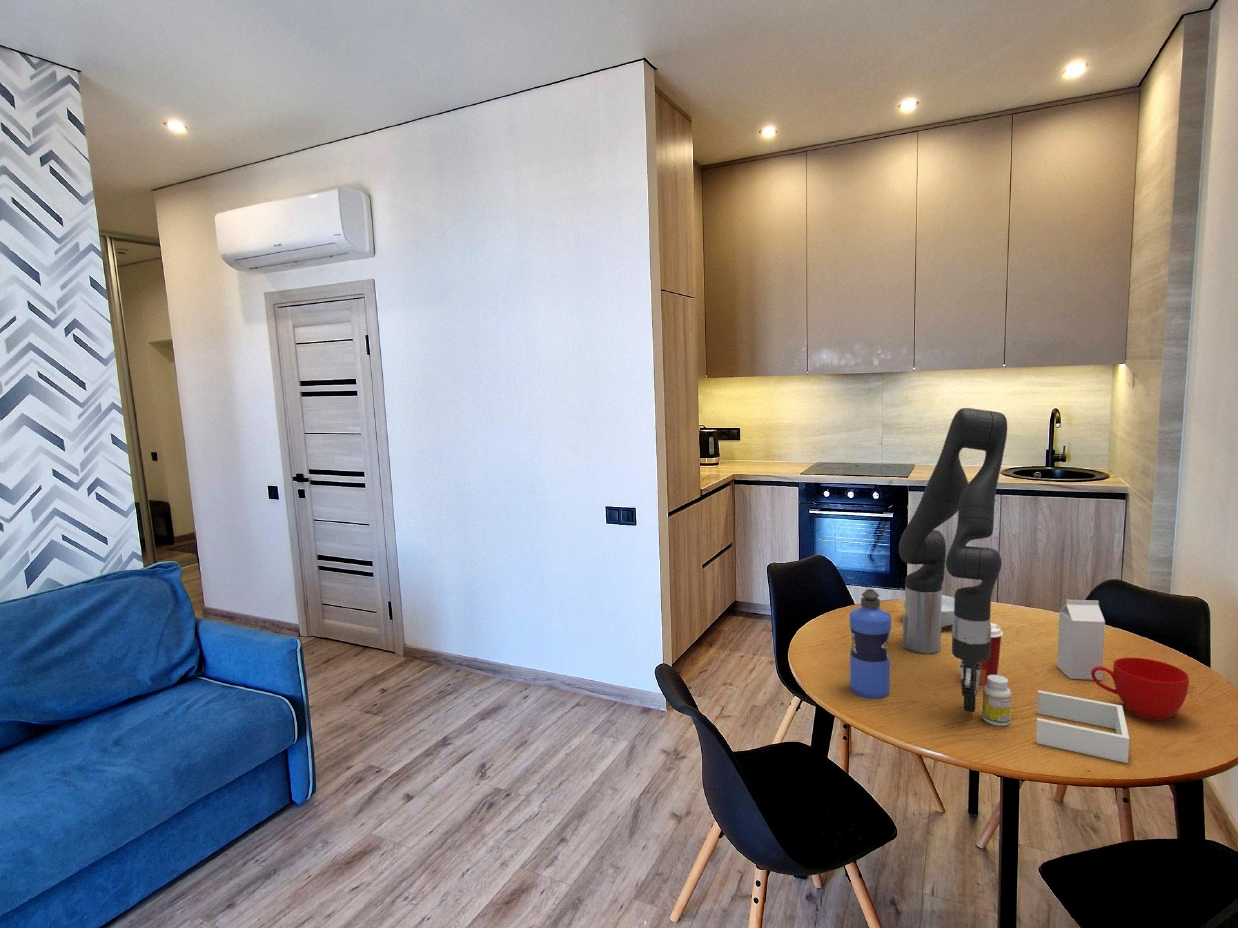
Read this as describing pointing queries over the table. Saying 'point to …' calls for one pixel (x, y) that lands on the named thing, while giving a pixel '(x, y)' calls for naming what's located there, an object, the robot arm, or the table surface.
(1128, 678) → the ceramic cup
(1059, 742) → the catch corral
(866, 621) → the water bottle
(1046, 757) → the table surface
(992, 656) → the paper cup
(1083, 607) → the milk carton
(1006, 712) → the supplement bottle
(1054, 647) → the table surface
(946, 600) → the cereal bowl
